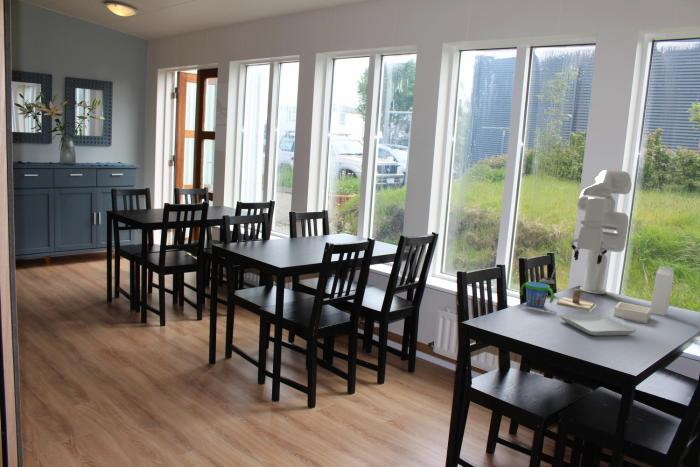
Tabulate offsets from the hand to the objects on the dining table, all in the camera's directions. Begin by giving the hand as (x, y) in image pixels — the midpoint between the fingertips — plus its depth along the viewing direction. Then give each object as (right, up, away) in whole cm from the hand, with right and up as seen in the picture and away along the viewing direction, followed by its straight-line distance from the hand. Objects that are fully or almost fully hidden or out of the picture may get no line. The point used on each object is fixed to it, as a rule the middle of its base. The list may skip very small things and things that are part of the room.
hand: (587, 261), depth 269 cm
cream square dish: (+16, -24, -8) cm, 30 cm away
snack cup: (-25, -20, -3) cm, 32 cm away
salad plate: (-9, -26, -31) cm, 42 cm away
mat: (-4, -21, +4) cm, 21 cm away
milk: (+34, -24, +3) cm, 42 cm away
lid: (-4, -20, +4) cm, 21 cm away
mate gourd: (-11, -18, +22) cm, 30 cm away
